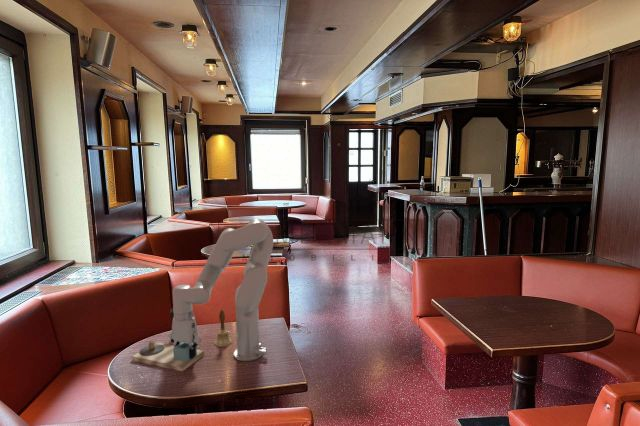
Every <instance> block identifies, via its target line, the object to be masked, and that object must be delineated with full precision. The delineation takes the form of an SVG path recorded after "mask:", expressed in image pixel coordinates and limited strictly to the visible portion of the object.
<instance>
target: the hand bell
mask: <svg viewBox="0 0 640 426" xmlns="http://www.w3.org/2000/svg"><path fill="white" fill-rule="evenodd" d="M219 311H220V312H219V314H218V317H219V322H220V330H219V331H218V332H217V337H216V339H215V341H214V343H213V344H214V346H215V347H219V348H222V347H223V348H224V347H227V346H228V347H229V346H231V345H232V343H233V339H232V338H231V337H230V336H229V332H228V330H227V329H225V328H226V326H225V321H226V315H225V311H224V309H220V310H219Z"/></svg>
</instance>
